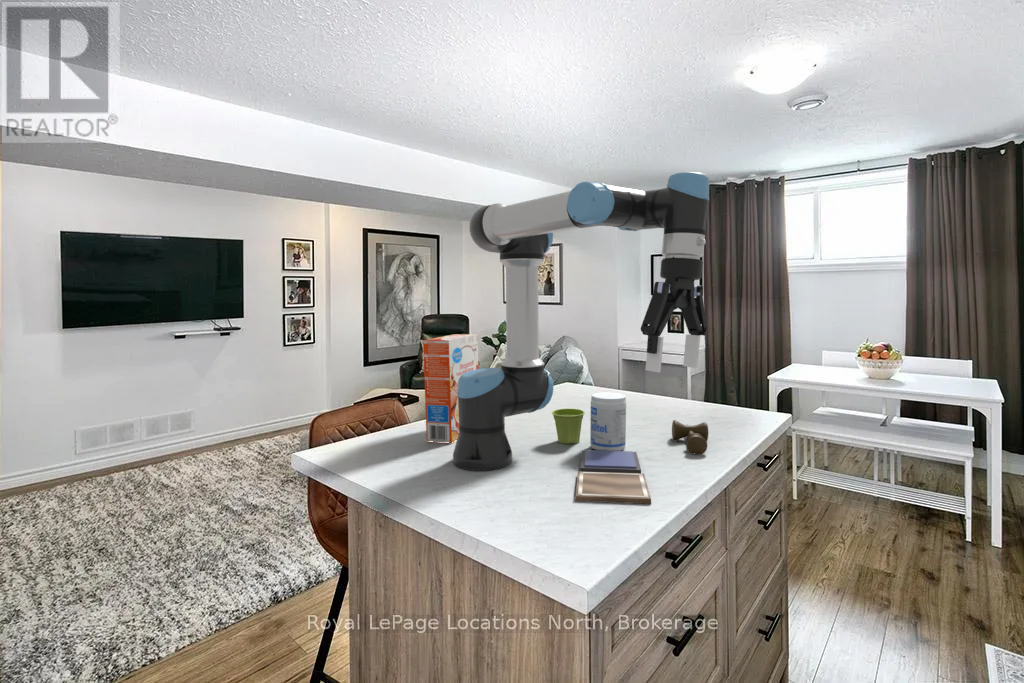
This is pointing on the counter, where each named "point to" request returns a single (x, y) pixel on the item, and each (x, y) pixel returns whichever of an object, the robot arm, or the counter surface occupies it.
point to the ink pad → (610, 461)
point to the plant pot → (568, 424)
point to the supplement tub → (608, 421)
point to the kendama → (691, 436)
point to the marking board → (612, 487)
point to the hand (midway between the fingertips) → (672, 369)
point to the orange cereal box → (446, 382)
